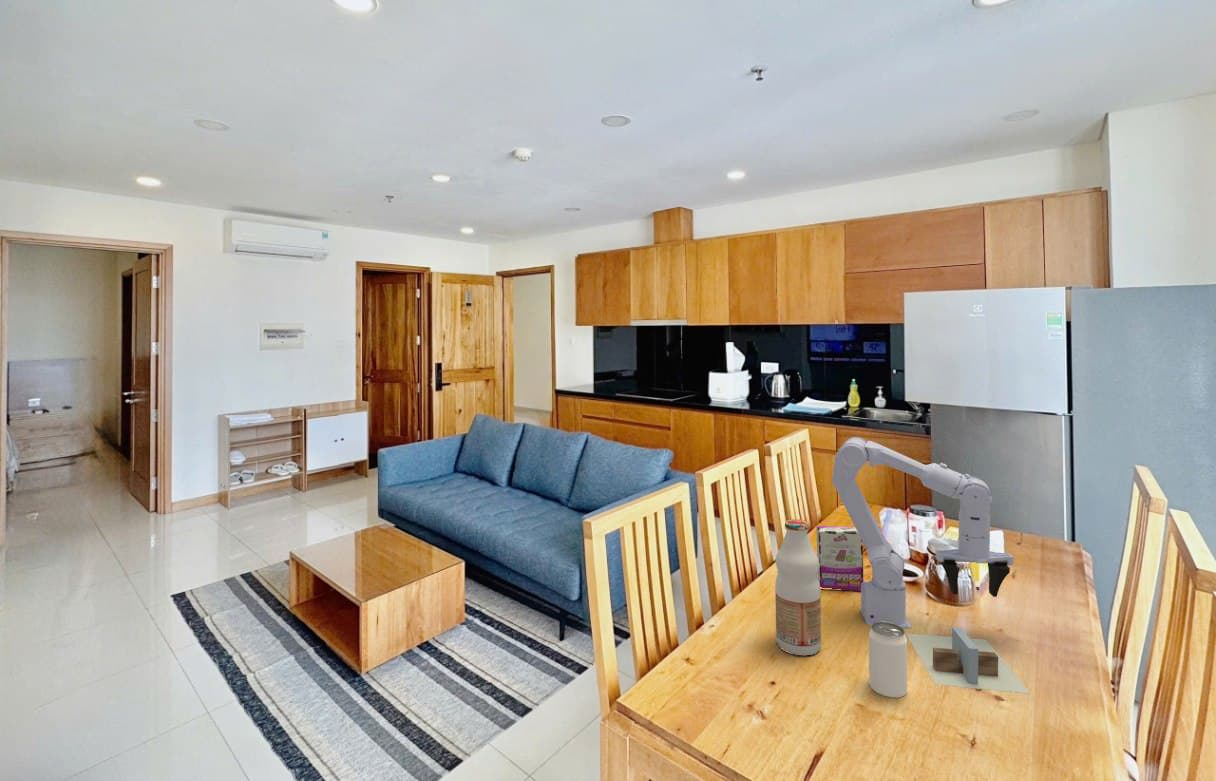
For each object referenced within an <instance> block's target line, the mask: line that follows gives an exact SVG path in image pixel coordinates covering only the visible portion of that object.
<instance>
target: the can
mask: <svg viewBox="0 0 1216 781" xmlns="http://www.w3.org/2000/svg"><path fill="white" fill-rule="evenodd" d="M870 627H871V629H870V630H869V634H868V674H869V676H868V680H869V681H868V682H869V686H870V688H871V689H872V690H873V691H874V692H875V693H877V694H879V695H881V696H884V697H888V698H892V699H895V698H902V697H904V696H906V695H907V692H908V639H907V635H906V633H905V630H904V628H901V627H900V626H898V625H896V624H893V623H890V622H875V623H873V624H872V626H870Z"/></svg>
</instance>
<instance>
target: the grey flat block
mask: <svg viewBox="0 0 1216 781" xmlns="http://www.w3.org/2000/svg"><path fill="white" fill-rule="evenodd" d="M951 629H952V630H951V631H952V632H951V637H952V649H955V650H956V652H957V653H958V660H959V661H960V662H961V663H962V665H963V676H964V677H965V679H966V680H967V682H968V683H972V684H978V648H977V647H976V646H975V644H974V643H973V642H972V641H971V639H972V638H970V637H969V636H968V635H967V633H966V632H965V631H964V630H963V628H962V627H954V626H953V627H951Z"/></svg>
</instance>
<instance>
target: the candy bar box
mask: <svg viewBox="0 0 1216 781" xmlns="http://www.w3.org/2000/svg"><path fill="white" fill-rule="evenodd" d="M816 555H817V556H818V559H819V571H818V574H817V578H818V580H819V583H820V587H822V588H832V589H841V590H853V591H852V592H860V591H861V583H862V582H864V544H863V542H862V540H861V538H860V536H859V534H858V532H857V530H856V528H855V526H836V525H834V526H831V525H829V526H828V525H827V526H826V525H825V526H824V525H817V526H816Z"/></svg>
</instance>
